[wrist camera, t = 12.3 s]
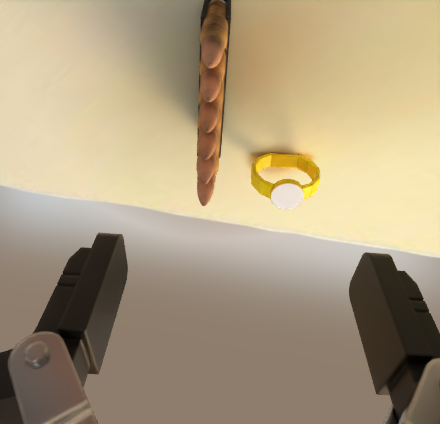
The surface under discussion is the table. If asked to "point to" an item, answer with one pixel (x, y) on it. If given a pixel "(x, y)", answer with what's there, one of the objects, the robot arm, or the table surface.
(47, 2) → the table surface
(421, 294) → the robot arm
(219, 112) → the ammunition clip
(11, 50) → the table surface
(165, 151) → the table surface
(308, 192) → the watch
